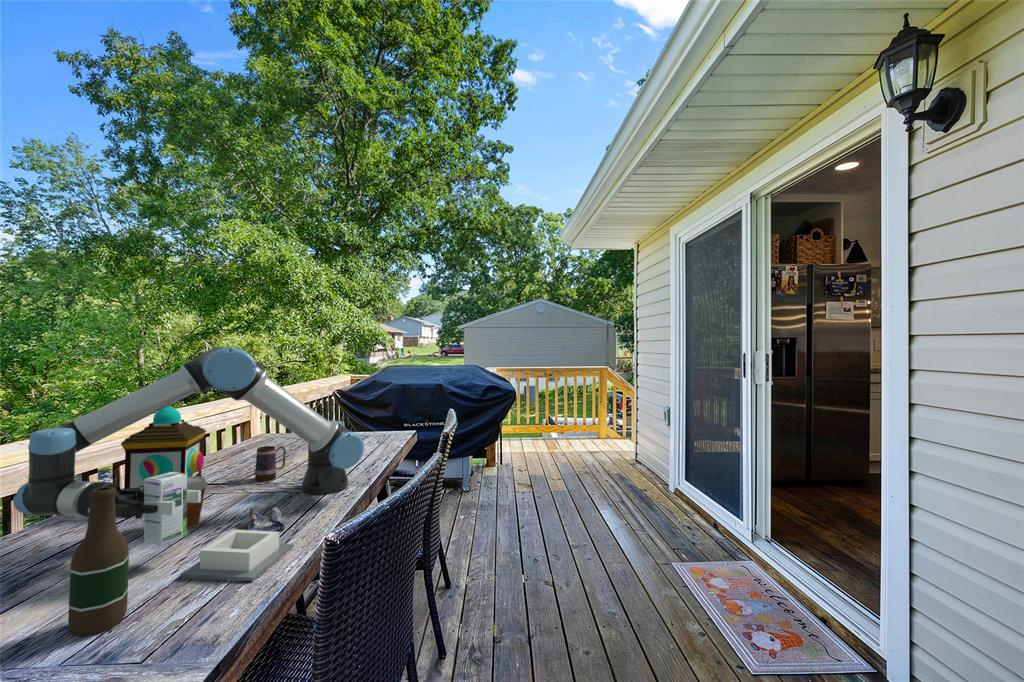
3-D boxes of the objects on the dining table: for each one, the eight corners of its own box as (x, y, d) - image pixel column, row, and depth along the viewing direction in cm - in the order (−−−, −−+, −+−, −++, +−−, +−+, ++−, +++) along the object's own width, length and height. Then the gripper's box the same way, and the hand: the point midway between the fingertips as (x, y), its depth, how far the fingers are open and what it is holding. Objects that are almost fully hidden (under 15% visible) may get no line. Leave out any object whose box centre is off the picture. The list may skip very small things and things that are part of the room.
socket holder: (231, 545, 112) (232, 525, 112) (293, 548, 111) (294, 528, 111) (180, 578, 96) (180, 554, 96) (252, 582, 95) (253, 558, 95)
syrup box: (160, 546, 98) (161, 480, 98) (142, 542, 100) (143, 477, 100) (187, 536, 104) (188, 473, 104) (170, 532, 106) (170, 470, 106)
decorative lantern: (211, 489, 153) (214, 402, 154) (190, 510, 134) (193, 410, 135) (140, 494, 147) (143, 403, 147) (108, 516, 128) (111, 411, 128)
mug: (254, 483, 161) (255, 449, 162) (253, 478, 167) (254, 445, 168) (286, 479, 167) (287, 446, 167) (284, 474, 173) (285, 443, 173)
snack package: (297, 520, 130) (256, 518, 129) (296, 499, 129) (255, 498, 128) (277, 545, 118) (231, 544, 117) (276, 522, 117) (230, 521, 116)
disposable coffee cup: (183, 533, 118) (185, 487, 118) (154, 529, 120) (155, 484, 120) (214, 520, 127) (215, 477, 127) (186, 516, 129) (187, 475, 129)
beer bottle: (93, 611, 83) (97, 482, 84) (138, 610, 84) (142, 482, 84) (54, 639, 76) (59, 496, 76) (103, 637, 76) (108, 495, 77)
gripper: (130, 500, 113) (217, 503, 112) (43, 533, 93) (149, 537, 92) (130, 470, 113) (218, 473, 112) (44, 497, 93) (149, 500, 92)
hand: (187, 502), depth 102 cm, fingers closed on syrup box, 7 cm apart
